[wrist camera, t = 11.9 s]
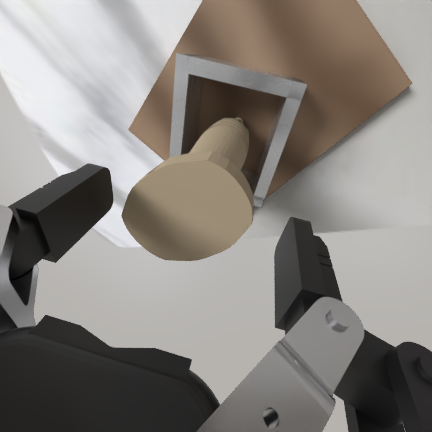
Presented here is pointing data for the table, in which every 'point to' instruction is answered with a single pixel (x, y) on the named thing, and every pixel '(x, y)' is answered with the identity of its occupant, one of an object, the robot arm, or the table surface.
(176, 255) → the handle
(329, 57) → the walnut board
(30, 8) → the table surface
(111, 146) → the table surface
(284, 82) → the collar
